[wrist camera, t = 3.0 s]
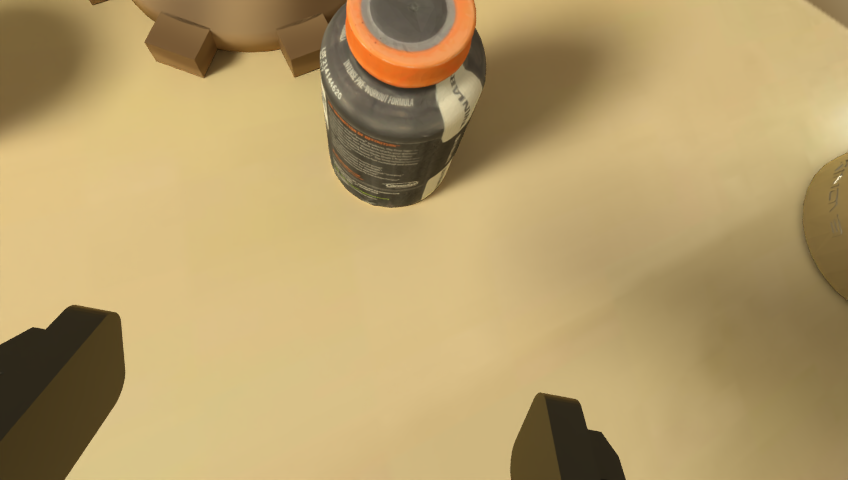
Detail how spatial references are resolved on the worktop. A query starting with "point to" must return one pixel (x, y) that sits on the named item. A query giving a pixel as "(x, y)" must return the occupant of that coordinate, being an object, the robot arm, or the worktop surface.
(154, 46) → the sprocket
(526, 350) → the worktop surface
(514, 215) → the worktop surface
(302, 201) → the worktop surface
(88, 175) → the worktop surface
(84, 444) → the robot arm
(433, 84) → the pill bottle
